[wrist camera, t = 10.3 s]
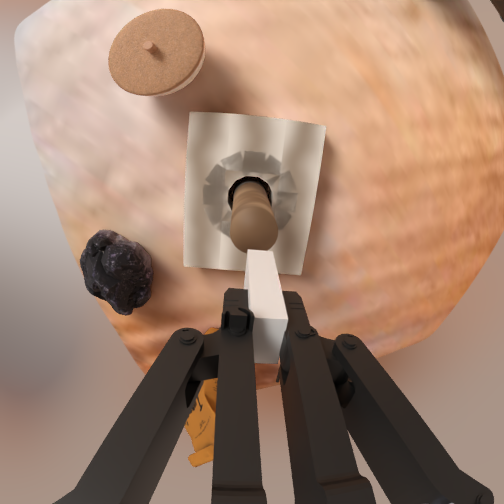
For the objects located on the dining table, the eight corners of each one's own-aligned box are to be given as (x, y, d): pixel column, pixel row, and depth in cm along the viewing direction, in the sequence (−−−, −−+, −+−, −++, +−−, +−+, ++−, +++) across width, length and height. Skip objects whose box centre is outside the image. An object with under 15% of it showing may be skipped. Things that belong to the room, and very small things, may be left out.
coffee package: (178, 357, 50) (158, 460, 30) (210, 317, 45) (196, 435, 25) (223, 377, 52) (219, 476, 32) (259, 341, 48) (268, 453, 28)
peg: (266, 178, 36) (282, 211, 22) (263, 207, 38) (275, 256, 24) (235, 175, 36) (231, 206, 22) (232, 205, 37) (227, 253, 24)
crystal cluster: (114, 307, 45) (101, 347, 36) (68, 248, 39) (42, 281, 30) (174, 277, 44) (168, 318, 35) (127, 208, 38) (105, 236, 29)
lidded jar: (225, 43, 28) (220, 17, 20) (187, 112, 32) (169, 107, 23) (155, 21, 26) (132, -4, 17) (119, 87, 30) (85, 79, 21)
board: (318, 126, 33) (326, 126, 30) (296, 263, 42) (300, 275, 38) (194, 113, 32) (189, 111, 29) (187, 254, 40) (183, 266, 37)
